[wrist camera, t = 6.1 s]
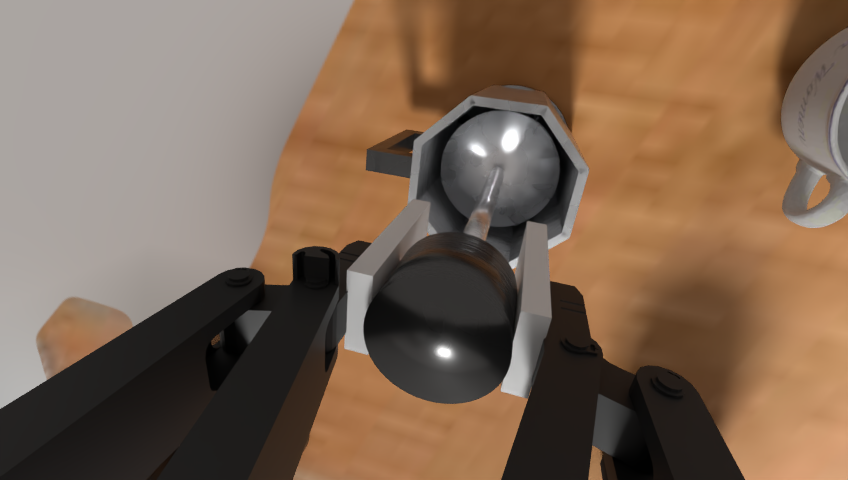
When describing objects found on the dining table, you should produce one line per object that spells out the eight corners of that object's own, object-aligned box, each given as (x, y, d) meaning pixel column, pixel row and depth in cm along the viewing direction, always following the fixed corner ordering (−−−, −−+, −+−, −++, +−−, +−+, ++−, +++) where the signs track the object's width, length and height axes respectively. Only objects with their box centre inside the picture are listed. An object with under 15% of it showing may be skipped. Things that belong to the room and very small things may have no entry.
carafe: (408, 187, 39) (354, 239, 28) (419, 72, 35) (360, 76, 23) (552, 214, 37) (559, 283, 25) (584, 94, 32) (610, 110, 21)
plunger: (436, 211, 31) (299, 411, 13) (451, 101, 27) (292, 170, 10) (543, 232, 29) (552, 489, 12) (572, 119, 26) (648, 238, 8)
